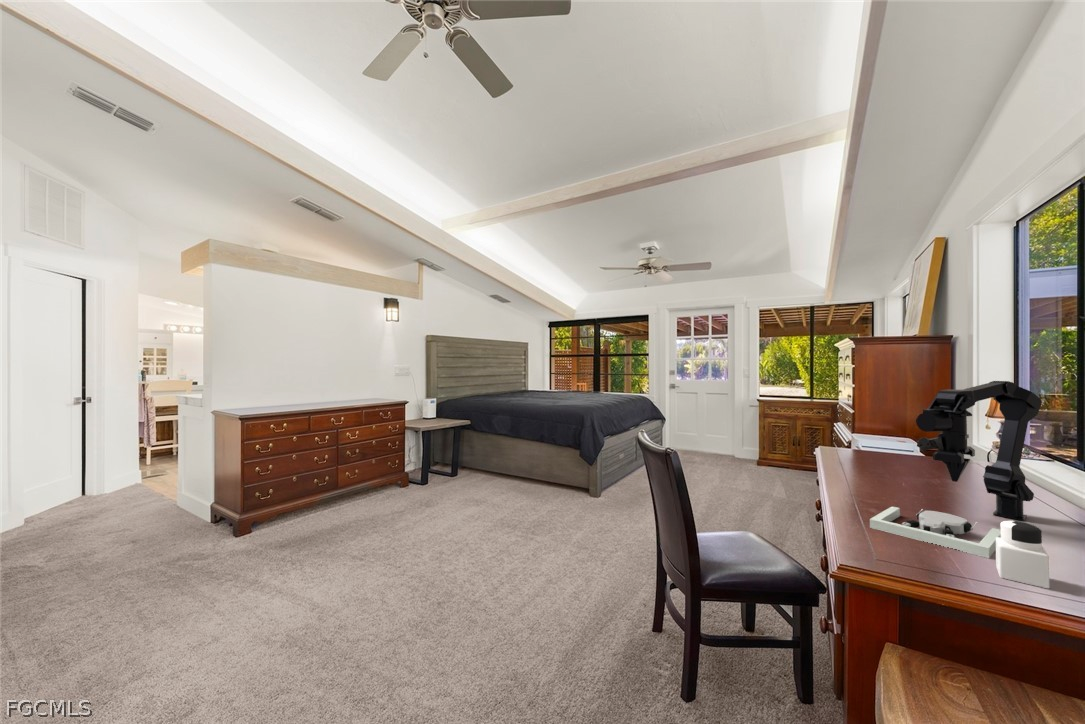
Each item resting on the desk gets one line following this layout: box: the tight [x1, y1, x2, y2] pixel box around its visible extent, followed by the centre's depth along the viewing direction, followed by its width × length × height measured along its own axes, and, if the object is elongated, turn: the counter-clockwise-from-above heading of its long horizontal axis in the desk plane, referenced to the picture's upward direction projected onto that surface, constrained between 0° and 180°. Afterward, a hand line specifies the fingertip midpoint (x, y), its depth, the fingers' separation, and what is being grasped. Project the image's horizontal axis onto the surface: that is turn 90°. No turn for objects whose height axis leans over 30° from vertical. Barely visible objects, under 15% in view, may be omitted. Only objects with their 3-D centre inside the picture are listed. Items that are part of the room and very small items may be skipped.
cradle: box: [869, 506, 1001, 559], centre depth 117 cm, size 20×24×2 cm
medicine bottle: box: [995, 520, 1050, 590], centre depth 93 cm, size 7×7×12 cm
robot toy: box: [901, 508, 978, 538], centre depth 118 cm, size 12×4×15 cm
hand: (954, 481), depth 128 cm, fingers closed
